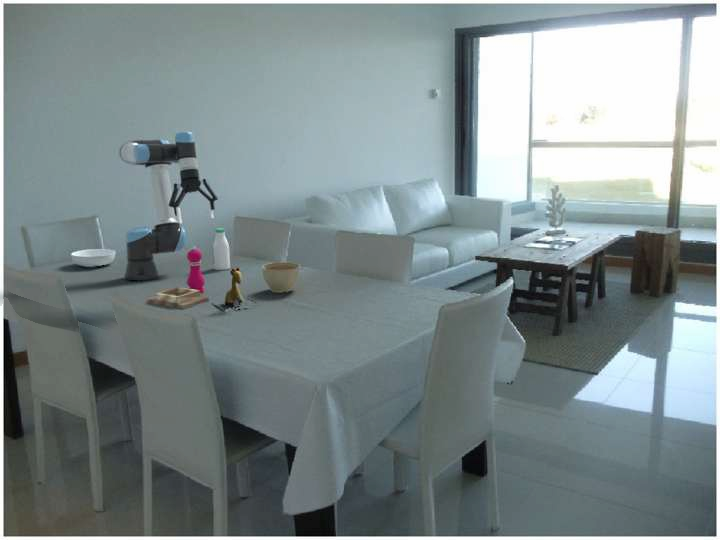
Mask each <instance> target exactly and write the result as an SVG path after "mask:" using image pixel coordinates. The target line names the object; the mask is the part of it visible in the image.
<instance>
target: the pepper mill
mask: <svg viewBox="0 0 720 540" xmlns="http://www.w3.org/2000/svg"><path fill="white" fill-rule="evenodd" d="M202 254H203V253H202V252H201V251H200V250H198V249H197V247H196V246H195V245H193V246H192V247H191V250H189V251H188V252H187V255H186V257H187V260H188V266H189V274H188V277H187V281H186V285H187V286H188V287H189V288H188V289H193V290H200V293H201V294H203V293H204V292H205V288H204V285H205V282H206V281H205V277H204V276H203V274H202V271H201V265H202V261H201V259H202V257H203V255H202Z"/></svg>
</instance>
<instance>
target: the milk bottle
mask: <svg viewBox="0 0 720 540" xmlns="http://www.w3.org/2000/svg"><path fill="white" fill-rule="evenodd" d="M225 234H226V228H225V227H224V228H223V227H222V228H221V227H219V228H215V238H214V241H213V246H212V247H213V249H212V250H213V252H212V253H213V254H212V255H213V257H212V258H213V269H214V270H216V271H225V270H230V268H231V261H230V257H231V256H230V246H229V242H228V240H227V237H226V235H225Z"/></svg>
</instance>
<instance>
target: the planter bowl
mask: <svg viewBox="0 0 720 540" xmlns="http://www.w3.org/2000/svg"><path fill="white" fill-rule="evenodd" d="M300 269H301V265H300V264H299V263H296V262H289V261H282V262H281V261H279V262H269V263H266V264H265V263H264V264H263V265H262V266H261V270H262V275H263V279H264V282H265V283H266V285H267V286H268V288H270V289H269V290H270V292H272V293H276V294H284V293H283V292H286V293H290V292H289V291H291V292H292V291H294V287H295V286H296V284H297V282H298V280H299V277H300Z"/></svg>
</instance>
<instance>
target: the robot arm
mask: <svg viewBox="0 0 720 540" xmlns="http://www.w3.org/2000/svg"><path fill="white" fill-rule="evenodd" d="M195 141H196V140H195V138H194V134H193V132H191V131H180V132H177V133H175V135H174V142H175V143H170V142H169V141H168V140H166V139H159V138H158V139H147V140H146V139H137V140H136V139H135V140H129V141H126V142H124V143H123V144H122V145H121V146H120V147H119V151H118V152H119V153H118V154H119V155H118V156H119V157H120V159H121V160H122V161H123V162H124V163H126V164H129V165H133V166H144V167H145V171H146V172H148V173H149V176H150V185H151V190H152V198H153V205H154V213H155V218H156V223H155V224H154V226H153V227H154V228H152V226H148V225H147V226H145V225H144V226H138V227H134V228H130V229H128V230H127V231H126V232H125V245H126V258H127V264H126V268H125V272H124V279H125V280H126V279H127V280H126V281H130V280H138V281H137V282H140V280H145V281H151V280H155V279H157V278H159V277H160V273H159V270H158V268H157V265H156V263H155V262H156V261H155V259H154V258H155V257H154V255H159V254H168V253H172V254H173V253H177V252H181V251H183V250H184V247H185V246H186V245H185V244H186V229H185V228H184V227H183V226H180V225H181V224H183V221H182V214H181V213H182V212H181V208H180V207H179V206H180V204H181V203H182V201H183V200H184V197H185V196H186V195H187V194H192V193H196V192H199V193H200V195H202V196H203V197H204V198H205V199H207V200H208V202H207V206H208V213H209V218H210V219H215V217H214V210H216V208H215V202H216V201H218V199H219V197H218V196H217V195H216V193H215V192H214V190H213V189H212V188H211V186H210V184H209V180H208V179H207V178H203V179H200V174H199V173H200V172H199V170H198V168H199V165H198V158H197V152H196V143H195ZM173 164H178V168H179V176H180V183H176V182H175V183H173V190H172V187H171V181H170V180H171V179H170V175H169V173H170V172H169V170H170V169H171V168H172V166H171V165H173ZM201 184H202V185H203V186H204V187H205V189H206V191H208V193H209V194H210V195H209V194H207V192H206V191H204V190H203V189H202V188H201V186H202V185H201ZM181 188H182V189H181ZM179 189H181V191H180V193H179ZM178 194H179V195H178ZM177 196H178V197H177ZM176 217H177V219H176ZM150 279H151V280H150Z"/></svg>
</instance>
